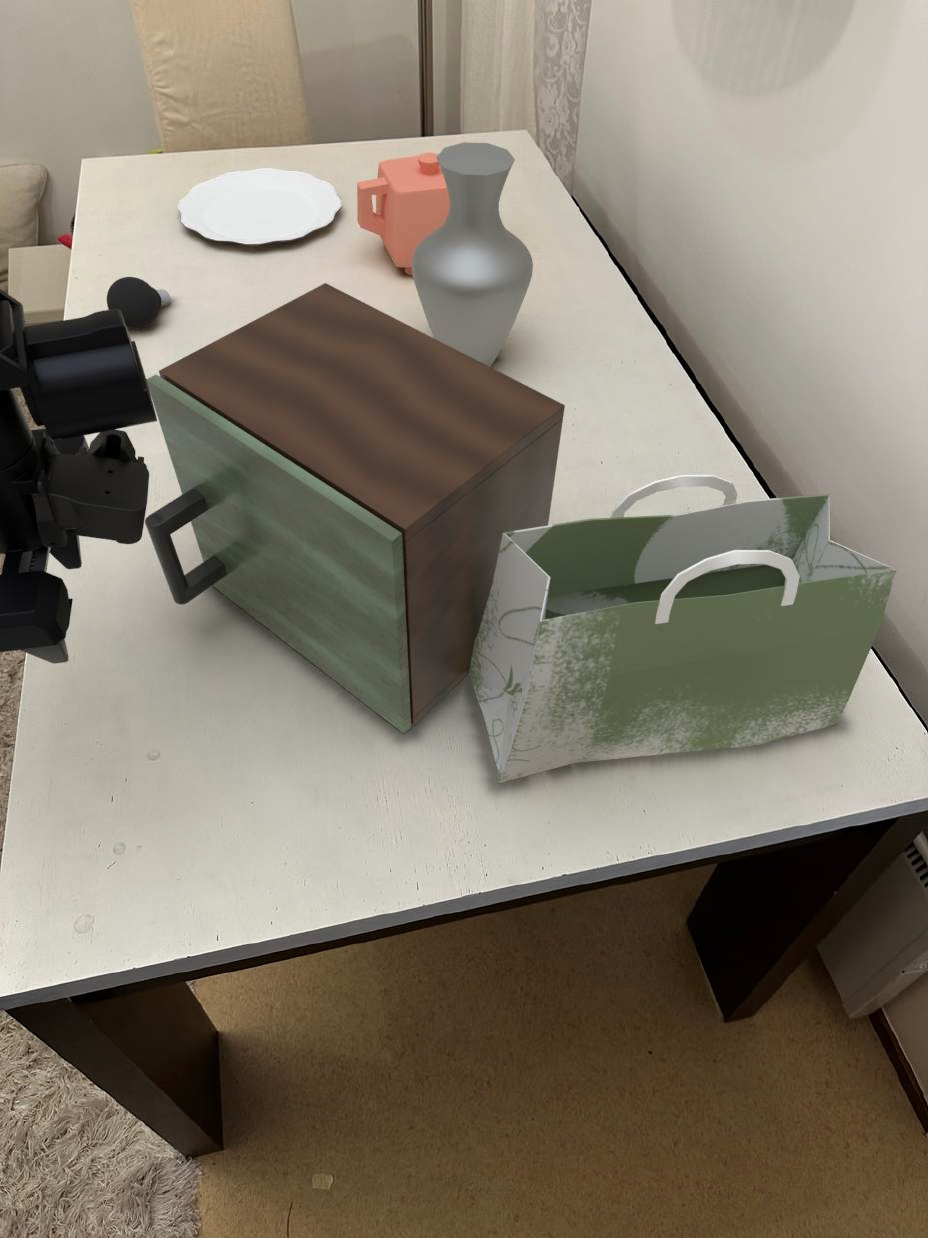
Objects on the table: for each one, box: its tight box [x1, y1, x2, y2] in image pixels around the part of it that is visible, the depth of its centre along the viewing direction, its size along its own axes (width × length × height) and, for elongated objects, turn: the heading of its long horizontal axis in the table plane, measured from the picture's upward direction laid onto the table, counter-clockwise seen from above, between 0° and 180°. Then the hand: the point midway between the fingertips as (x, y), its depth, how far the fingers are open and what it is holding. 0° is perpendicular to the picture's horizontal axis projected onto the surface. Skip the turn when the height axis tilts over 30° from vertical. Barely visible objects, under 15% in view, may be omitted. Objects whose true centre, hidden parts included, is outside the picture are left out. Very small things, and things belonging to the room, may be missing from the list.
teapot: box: [356, 152, 450, 276], centre depth 121 cm, size 22×13×14 cm, turn 108°
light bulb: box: [106, 276, 172, 330], centre depth 112 cm, size 6×6×10 cm
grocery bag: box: [468, 474, 898, 784], centre depth 69 cm, size 32×14×23 cm, turn 102°
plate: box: [176, 167, 343, 247], centre depth 133 cm, size 25×25×2 cm
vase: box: [412, 141, 534, 368], centre depth 100 cm, size 14×14×25 cm
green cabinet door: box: [144, 374, 412, 734], centre depth 69 cm, size 6×26×24 cm, turn 50°
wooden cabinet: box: [158, 282, 566, 726], centre depth 75 cm, size 18×26×24 cm
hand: (68, 612), depth 63 cm, fingers open, 9 cm apart
